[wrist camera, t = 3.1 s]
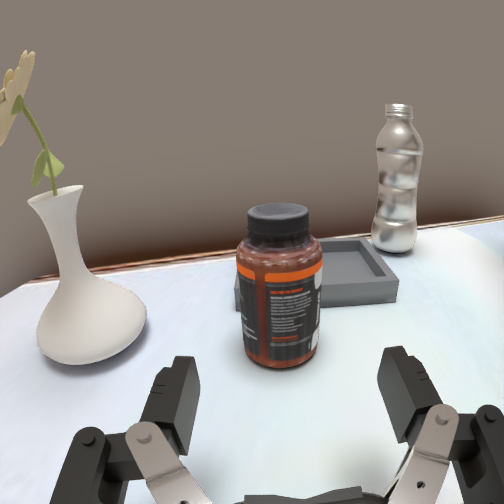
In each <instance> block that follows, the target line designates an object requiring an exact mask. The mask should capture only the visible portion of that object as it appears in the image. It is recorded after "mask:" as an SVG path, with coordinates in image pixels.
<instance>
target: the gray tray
mask: <svg viewBox="0 0 504 504" xmlns="http://www.w3.org/2000/svg"><path fill="white" fill-rule="evenodd" d="M317 240H318V242H319V243H320V245H321V248H322V281H321V283H322V284H321V301H320V308H324V307H339V306H353V305H366V304H378V303H389V302H395V301H396V296H397V290H398V285H399V279H398V278H397V277H396V275H395V274H394V273H393V271H392V270H391V269H390V268H389V266H388V265H387V264H386V263H385V261H384V260H383V259H382V258H381V256H380V255H379V254H378V253H377V252H376V250H375V249H374V248H373V247H372V246H371V244H370V243H369V242H368V241H367V240H366V238H365V237H361V238H331V239H317ZM234 291H235V302H236V311H241V309H240V298H239V286H238V275H236V281H235V287H234Z"/></svg>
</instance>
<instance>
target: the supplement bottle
mask: <svg viewBox="0 0 504 504" xmlns="http://www.w3.org/2000/svg"><path fill="white" fill-rule="evenodd" d="M247 228H248V230H249V231H250V232H249V233H248V235H247V236H246V238H245V239H243V240H242V242H241V243H240V244H239V246H238V248H237V251H236V263H237V275H238V286H239V298H240V309H241V320H242V330H243V340H244V346H245V350H246V352H247V354H248V355H249V357H250V358H252V359H253V360H254V361H256V362H257V363H259V364H262V365H264V366H268V367H273V368H287V367H292V366H296V365H299V364H301V363H303V362H305V361H306V360H308V359H309V358H310V357H311V356H312V355H313V354H314V352H315V351H316V348H317V344H318V337H319V322H320V301H321V284H322V283H321V281H322V248H321V245H320V243H319V242H318V240H317V239H316V238H314V237H313V236H312V235H310V233H309V231H308V228H309V218H308V209H307V208H306V207H304V206H302V205H298V204H292V203H271V204H264V205H259V206H256V207H253V208H251V209H250V210H249V211H248V227H247Z"/></svg>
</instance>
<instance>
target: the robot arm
mask: <svg viewBox="0 0 504 504" xmlns="http://www.w3.org/2000/svg"><path fill="white" fill-rule="evenodd" d="M377 381H378V386H379V389H380V392H381V395H382V397H383V400H384V403H385V406H386V409H387V412H388V414H389V417H390V420H391V423H392V426H393V429H394V432H395V435H396V438H397V441H398V444H399V443H403V442H408V445H409V447H408V449H407V451H406V453H405V455H404V457H403V459H402V461H401V464H400V466H399V468H398V470H397V472H396V474H395V476H394V477H393V479H392V481H391V483H390V485H389V486H388V488H387V490H386V491H385V493H384V494H383V496H380V495H376V494H373V493H366V492H362V489H361V486H357V487H351V488H345V489H338V490H332V491H329V492H327V493H324V494H321V495H318V496H314V497H311V498H308V499H296V498H290V497H283V496H277V495H245V496H244V501H243V502H238V503H235V504H435V502H436V499H437V497H438V494H439V492H440V489H441V487H442V484H443V481H444V479H445V476H446V473H447V470H448V467H449V464H450V461H452V464H453V467H454V470H455V473H456V477H457V480H458V483H459V487H460V490H461V494H462V497H463V501H464V504H504V416H503V414H502V412H501V411H500V409H499V408H497V407H496V406H493V405H483V406H481V407H480V408H479V409H478V410H477V412H476V414H459V413H457V411H456V410H455V409H454V408H453V407H451V406H449V405H446V404H443V402H442V400H441V398H440V397H439V395H438V393H437V391H436V389H435V387H434V385H433V383H432V381H431V379H429V376H428V374H427V373H426V370H425V368H424V366H423V365H422V363H421V362H420V361H419V360H418V359H417V358H415V357H414V356H408V355H407V353H406V351H405V349H404V348H403V346H395V347H388V348H385V349H384V351H383V355H382V359H381V363H380V367H379V370H378V375H377ZM199 396H200V381H199V376H198V372H197V367H196V363H195V359H194V357H193V356H176V357H175V358H174V361H173V364H172V367H171V368H169V367H164V368H163V369H162V370H161V371H160V372H159V373H158V374H157V375H156V377H155V380H154V383H153V386H152V388H151V391H150V394H149V396H148V399H147V402H146V404H145V407H144V410H143V413H142V416H141V418H140V421H139V423H136V424H134V425H132V426H131V427H130V428H129V429H128V430H127V432H124V433H117V434H107V435H104V433H103V432H102V431H101V430H100V429H98V428H96V427H85V428H83V429H81V430H79V431H78V432H77V433H76V434H75V436H74V438H73V441H72V443H71V446H70V448H69V451H68V453H67V456H66V458H65V461H64V464H63V466H62V469H61V472H60V474H59V477H58V480H57V483H56V486H55V488H54V491H53V494H52V497H51V500H50V503H49V504H124V500H125V495H126V491H127V486H128V482H129V480H140V479H145V480H146V484H147V486H148V488H149V490H150V492H151V494H152V496H153V497H154V499H155V501H156V502H157V504H212V503H211V501H210V500H209V499H208V497H207V496H206V495H205V493H204V492H203V491H202V489H201V488H200V487H199V485H198V484H197V482H196V481H195V480H194V478H193V477H192V475H191V474H190V473H189V471H188V470H187V469H186V467H184V466H183V464H182V463H181V461H180V460H179V455H185V456H187V455H188V450H189V445H190V440H191V435H192V430H193V425H194V420H195V415H196V410H197V406H198V401H199Z"/></svg>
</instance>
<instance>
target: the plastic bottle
mask: <svg viewBox="0 0 504 504" xmlns="http://www.w3.org/2000/svg"><path fill="white" fill-rule="evenodd" d="M385 110H386V114H385V117H386V118H387V123H386V125H385V126H384V127H383V129H382V130H381V132H380V133H379V135H378V137H377V141H376V149H377V159H378V169H379V194H378V201H377V207H376V215H375V216H374V220H373V224H372V230H371V234H372V241H373V243H374V245H375V246H376V247H377V248H378V249H380V250H383V251H387V252H393V253H402V252H407V251H409V250H410V249H411V248H412V247H413V245H414V243H415V239H416V236H417V222H416V195H417V186H418V179H419V172H420V166H421V161H422V154H423V143H422V140H421V138H420V136H419V135H418V133H417V131H416V130H415V128H414V127H413V125H412V121H411V120H414V117H413V108H412V106H409V105H400V104H386V105H385Z"/></svg>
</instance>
